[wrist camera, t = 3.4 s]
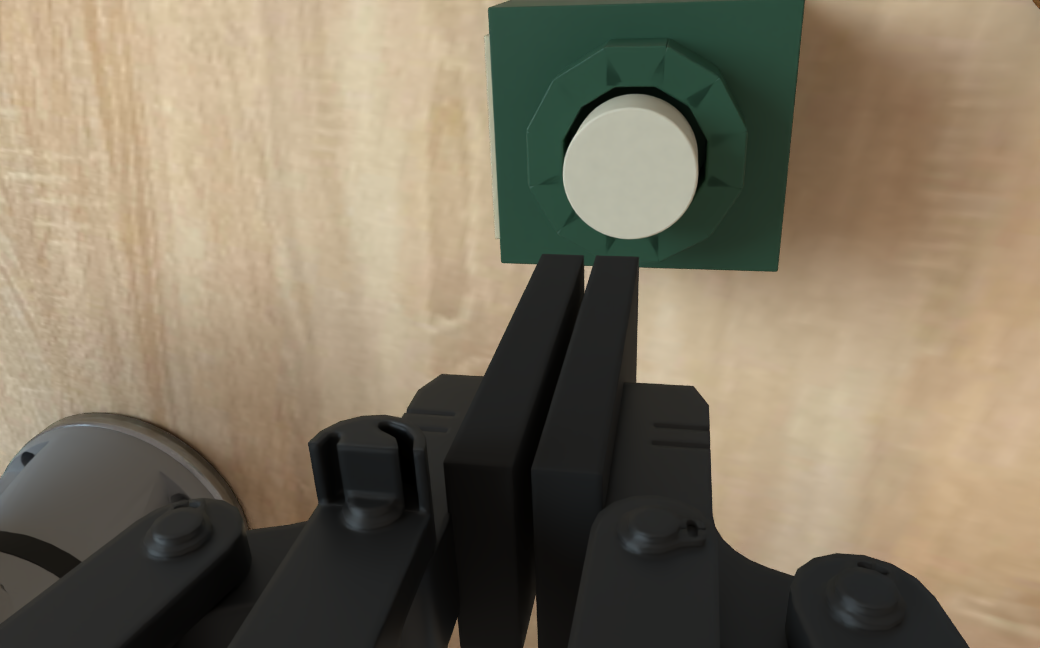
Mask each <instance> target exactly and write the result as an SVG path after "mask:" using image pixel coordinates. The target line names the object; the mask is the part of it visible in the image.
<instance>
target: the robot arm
mask: <svg viewBox="0 0 1040 648" xmlns="http://www.w3.org/2000/svg"><path fill="white" fill-rule="evenodd" d="M638 281H639V257H633V256H599V255H596V257H595V261H594V264H593V267H592V270H591V274H590V277H589V280H588V284H587V287H586V290H585V293H584V255H564V254H542V255H541V257H540V259H539V261H538V264H537V266H536V268H535V270H534V272H533V274H532V276H531V278H530V280H529V282H528V285H527V287H526V289H525V291H524V293H523V295H522V297H521V299H520V301H519V304H518V306H517V308H516V310H515V312H514V314H513V316H512V318H511V320H510V322H509V325H508V327H507V329H506V331H505V333H504V335H503V337H502V339H501V341H500V344H499V346H498V348H497V350H496V352H495V354H494V356H493V358H492V360H491V362H490V365H489V367H488V369H487V371H486V373H485V375H484V376H466V375H449V374H441V375H439V376H438V377H437V378H435V379H434V380H432V381H431V382H429V383H428V384H426V385H425V386H423V387H422V388H421V389H419V390H418V391H417V393H416V395H415V396H414V398H413V400H412V401H411V403H410V405H409V406H408V408H407V413H404V415H403V416H402V418H399V417H393V416H388V415H372V416H360V417H356V418H352V419H348V420H344V421H340V422H338V423H336V424H334V425H332V426H330V427H328V428H326V429H324V430H322V431H320V432H319V433H318V434H317V435H316V436H315V437H314V438H313V439H311V440H310V441H309V442H308V446H309V452H310V458H311V463H312V469H313V475H314V480H315V486H316V492H317V497H318V503H319V504H318V506H317V507H316V509H315V511H314V512H313V514H312V515H311V517H310V518H309V520H308V521H305V522H300V523H295V524H290V525H283V526H276V527H268V528H260V529H253V530H249V529H248V526H247V522H246V519H245V516H244V513H243V511H242V509H241V507H240V505H239V502H238V500H237V499H236V497H235V495H234V494H233V492H232V490H231V489H230V487H229V486H228V485H227V483H226V482H225V480H224V479H223V478H222V477H221V476H220V474H219V473H218V472H217V471H216V470H215V469H214V468H213V467H212V466H211V465H210V463H209V462H208V461H206V460H205V459H204V458H203V457H202V456H201V455H200V454H199V453H197V452H196V451H195V450H194V449H192V448H191V447H190V446H188V445H187V444H186V443H184V442H183V441H181V440H180V439H178V438H177V437H175V436H173V435H171V434H170V433H168V432H166V431H164V430H162V429H160V428H158V427H156V426H154V425H151V424H149V423H146V422H144V421H141V420H138V419H134V418H131V417H127V416H122V415H117V414H110V413H84V414H78V415H73V416H69V417H66V418H63V419H61V420H59V421H57V422H55V423H53V424H52V425H50V426H48V427H47V428H46V429H44V430H43V431H42V432H40V433H39V434H38V435H37V436H35V437H34V438H33V439H31V440H30V441H29V442H28V443H27V444H26V445H25V446H24V447H23V448H22V449H21V450H20V451H19V452H18V453H17V455H16V456H15V457H14V458H13V459H12V461H11V462H10V463H9V465H8V466H7V468H6V470H5V472H4V473H3V475H2V476H1V478H0V648H448V643H449V640H450V638H451V635H452V632H453V629H454V626H455V623H456V620H457V617H458V626H459V637H460V647H461V648H523V646H524V642H525V638H526V633H527V629H528V625H529V621H530V617H531V612H532V608H533V604H534V600H535V596H536V604H537V629H538V648H969V646H968V645H967V643H966V642H965V640H964V639H963V637H962V636H961V634H960V633H959V631H958V630H957V629H956V627H955V626H954V624H953V623H952V621H951V620H950V618H949V617H948V615H947V614H946V613H945V611H944V610H943V608H942V607H941V605H940V604H939V602H938V601H937V599H936V598H935V597H934V596H933V595H932V594H931V593H930V592H929V591H928V590H927V589H926V587H925V586H924V585H923V584H922V583H921V582H920V581H919V580H918V579H917V578H915V577H913V576H912V575H910V574H908V573H907V572H905V571H903V570H901V569H900V568H898V567H896V566H895V565H893V564H891V563H887V562H884V561H881V560H878V559H874V558H871V557H868V556H865V555H854V554H840V553H836V554H831V555H826V556H822V557H817V558H813V559H812V560H810V561H809V562H807V563H806V564H804V565H803V566H802V567H800V568H799V569H797V572H796V574H795V576H792V575H789V574H786V573H783V572H780V571H777V570H774V569H770V568H768V567H765V566H763V565H761V564H758V563H756V562H753V561H751V560H749V559H748V558H746V557H744V556H743V555H741V554H740V553H738V552H736V551H735V550H734V549H733V548H732V547H731V546H730V545H729V544H727V543H726V542H725V541H724V540H723V539H722V537H721V535H720V534H719V532H718V531H717V529H716V527H715V524H714V519H713V513H712V483H711V453H710V431H709V429H710V424H709V405H708V404H707V402H706V401H705V400H704V399H703V397H702V396H701V395H700V394H699V392H698V391H697V390H696V389H695V387H694V386H683V385H665V384H648V383H636V366H637V323H638Z"/></svg>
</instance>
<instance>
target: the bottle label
mask: <svg viewBox="0 0 1040 648" xmlns="http://www.w3.org/2000/svg"><path fill="white" fill-rule="evenodd" d="M484 42H485V60H486V79H487V97H488V115H489V134H490V152H491V170H492V189H493V207H494V225H495V239H500V229H499V210H498V191H497V172H496V153H495V133H494V114H493V95H492V76H491V56H490V37H489V34H488V35H485V36H484Z"/></svg>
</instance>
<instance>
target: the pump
mask: <svg viewBox="0 0 1040 648" xmlns="http://www.w3.org/2000/svg"><path fill="white" fill-rule="evenodd" d="M563 183H564V188H565V192H566V195H567V198H568V200H569V202H570V204H571V206H572V208H573V209H574V210H575V212H576V213H577V215H578V216H579V217H580V218H581V219H582V220H583V221H584V222H585V223H586V224H588V225H589V226H590V227H592V228H593V229H595V230H596V231H598V232H600V233H602V234H605V235H608V236H611V237H615V238H620V239H640V238H646V237H649V236H653V235H655V234H658V233H660V232H662V231H664V230H665V229H667V228H669V227H670V226H671V225H673V224H674V223H675V222H676V221H677V220H678V219H679V218H680V217H681V216H682V215H683V214H684V213H685V211H686V210H687V209H688V207H689V205H690V203H691V202H692V199H693V197H694V194H695V191H696V188H697V183H698V148H697V142H696V138H695V135H694V132H693V130H692V128H691V126H690V124H689V123H688V121H687V119H686V118H685V117H684V116H683V115H682V113H681V112H680V111H678V110H677V109H676V108H675V107H674V106H672V105H671V104H669V103H668V102H666V101H664V100H662V99H660V98H657V97H654V96H650V95H645V94H627V95H622V96H618V97H615V98H612V99H610V100H608V101H606V102H604V103H602V104H601V105H599V106H598V107H596V108H595V109H594V110H593V111H592V112H591V113H590V114H589V115H588V116H587V117H586V118H585V120H584V121H583V123H582V124H581V126H580V127H579V129H578V131H577V133H576V134H575V136H574V138H573V139H572V141H571V143H570V145H569V147H568V149H567V152H566V155H565V159H564V164H563Z"/></svg>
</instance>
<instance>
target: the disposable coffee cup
mask: <svg viewBox="0 0 1040 648" xmlns="http://www.w3.org/2000/svg"><path fill="white" fill-rule="evenodd" d="M1033 2H1034V3H1035V4H1036V6H1037V7H1038V8H1039V9H1040V0H1033Z"/></svg>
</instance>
